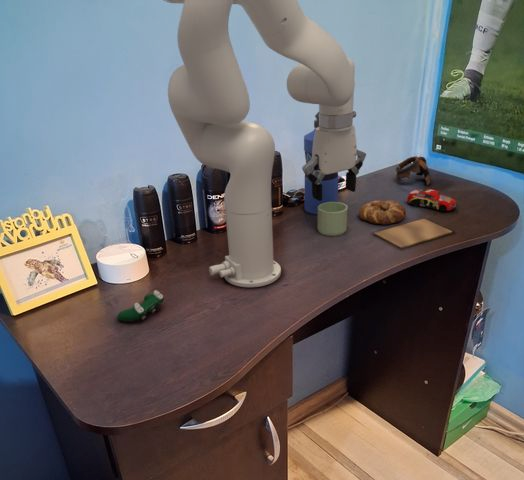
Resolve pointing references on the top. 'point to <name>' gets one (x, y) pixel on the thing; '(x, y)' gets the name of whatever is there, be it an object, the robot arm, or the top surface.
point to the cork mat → (412, 233)
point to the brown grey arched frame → (413, 168)
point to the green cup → (332, 218)
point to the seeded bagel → (382, 212)
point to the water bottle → (327, 182)
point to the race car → (431, 199)
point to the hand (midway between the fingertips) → (334, 194)
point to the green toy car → (142, 307)
